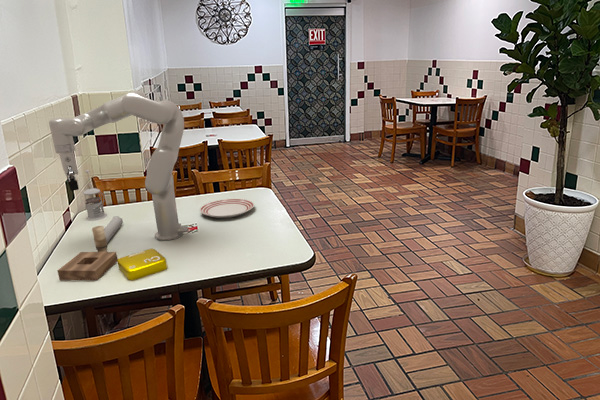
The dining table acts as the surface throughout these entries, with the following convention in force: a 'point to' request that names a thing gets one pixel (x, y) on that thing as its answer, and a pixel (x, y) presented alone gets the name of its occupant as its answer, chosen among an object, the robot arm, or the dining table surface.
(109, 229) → the tube
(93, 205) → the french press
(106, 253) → the board
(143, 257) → the element tile
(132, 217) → the dining table surface
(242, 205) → the dinner plate
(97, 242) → the peg
